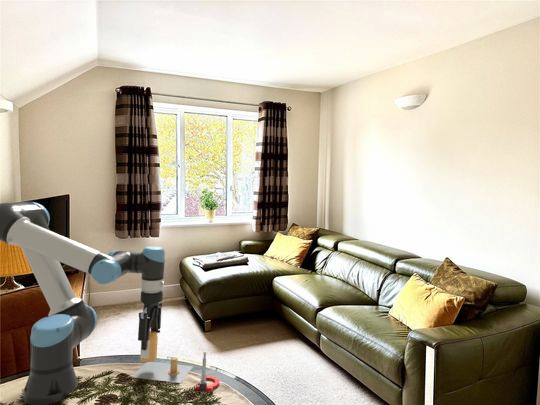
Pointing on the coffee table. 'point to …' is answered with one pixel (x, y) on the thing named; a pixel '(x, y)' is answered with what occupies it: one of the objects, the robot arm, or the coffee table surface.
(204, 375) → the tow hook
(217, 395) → the coffee table surface
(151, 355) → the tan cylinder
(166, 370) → the board
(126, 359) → the coffee table surface
